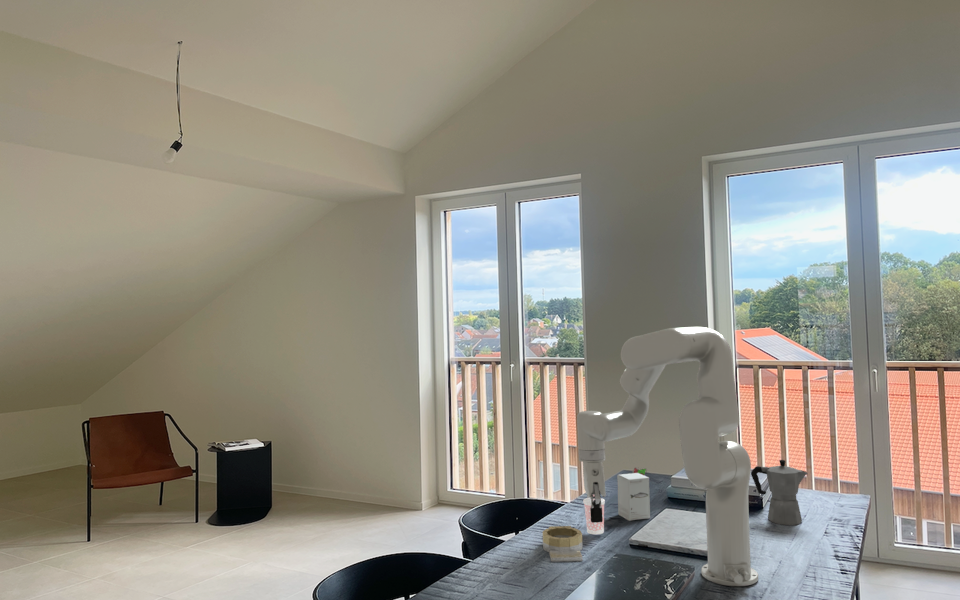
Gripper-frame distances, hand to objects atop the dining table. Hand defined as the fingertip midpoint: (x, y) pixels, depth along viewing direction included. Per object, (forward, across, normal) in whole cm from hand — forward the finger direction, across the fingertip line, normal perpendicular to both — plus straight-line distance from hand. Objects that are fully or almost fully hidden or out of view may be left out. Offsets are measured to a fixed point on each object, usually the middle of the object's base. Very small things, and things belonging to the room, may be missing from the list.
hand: (594, 517), depth 188 cm
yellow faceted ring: (+5, -7, +10) cm, 13 cm away
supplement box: (+5, +16, -14) cm, 23 cm away
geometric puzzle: (+5, +52, -25) cm, 58 cm away
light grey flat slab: (+5, -12, +10) cm, 17 cm away
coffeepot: (+6, +10, -56) cm, 58 cm away
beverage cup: (+4, 0, 0) cm, 4 cm away
